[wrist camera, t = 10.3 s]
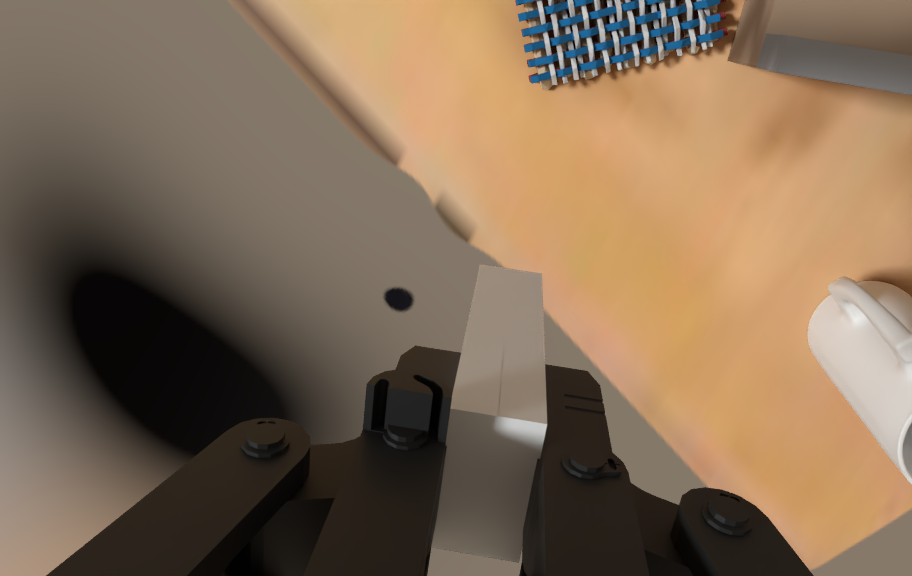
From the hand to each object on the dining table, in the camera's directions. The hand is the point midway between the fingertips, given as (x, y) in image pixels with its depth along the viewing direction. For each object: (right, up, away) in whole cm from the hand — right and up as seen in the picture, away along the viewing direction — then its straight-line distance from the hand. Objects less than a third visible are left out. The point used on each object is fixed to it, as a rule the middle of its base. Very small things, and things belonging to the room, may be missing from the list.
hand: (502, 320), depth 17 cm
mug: (+22, 0, +24) cm, 33 cm away
